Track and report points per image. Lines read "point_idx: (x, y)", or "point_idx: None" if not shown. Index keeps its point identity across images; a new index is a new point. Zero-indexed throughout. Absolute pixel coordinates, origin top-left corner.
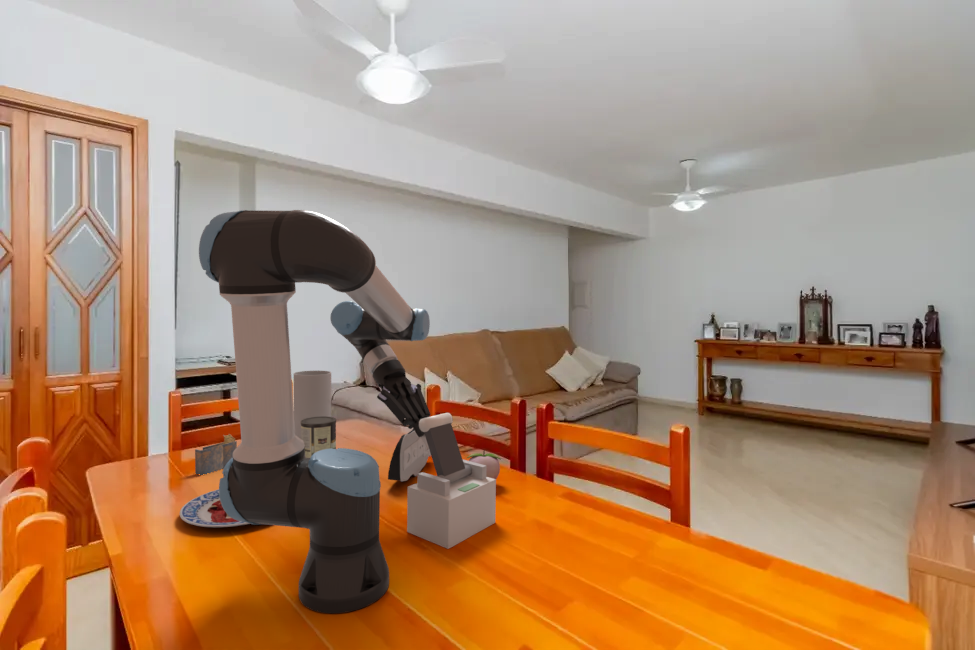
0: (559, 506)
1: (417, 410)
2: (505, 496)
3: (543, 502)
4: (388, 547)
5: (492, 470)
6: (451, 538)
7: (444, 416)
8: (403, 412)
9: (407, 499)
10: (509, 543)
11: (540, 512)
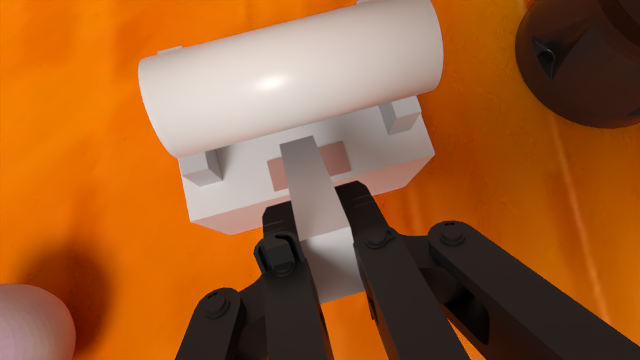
0: (13, 97)
1: (323, 337)
2: (63, 228)
3: (21, 137)
4: (471, 144)
5: (10, 284)
6: None
7: (221, 39)
8: (525, 275)
9: (424, 165)
10: (246, 24)
11: (78, 97)
